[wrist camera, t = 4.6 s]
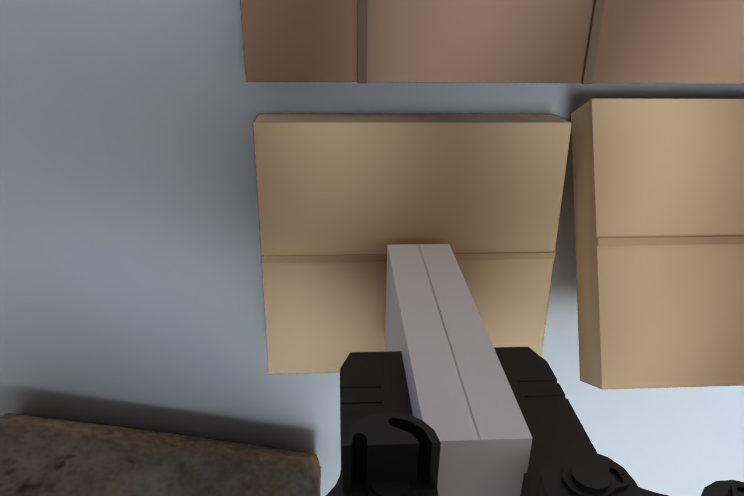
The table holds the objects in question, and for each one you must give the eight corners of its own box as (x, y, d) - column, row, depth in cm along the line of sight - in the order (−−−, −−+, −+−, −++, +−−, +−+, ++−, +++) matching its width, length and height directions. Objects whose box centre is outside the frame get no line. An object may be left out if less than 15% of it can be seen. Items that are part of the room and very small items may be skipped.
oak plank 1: (272, 349, 17) (268, 375, 16) (259, 114, 14) (252, 123, 13) (526, 344, 17) (540, 368, 16) (553, 114, 15) (573, 123, 14)
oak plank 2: (580, 380, 14) (603, 390, 13) (570, 113, 15) (593, 97, 14) (864, 372, 15) (913, 380, 14) (849, 113, 15) (896, 97, 14)
